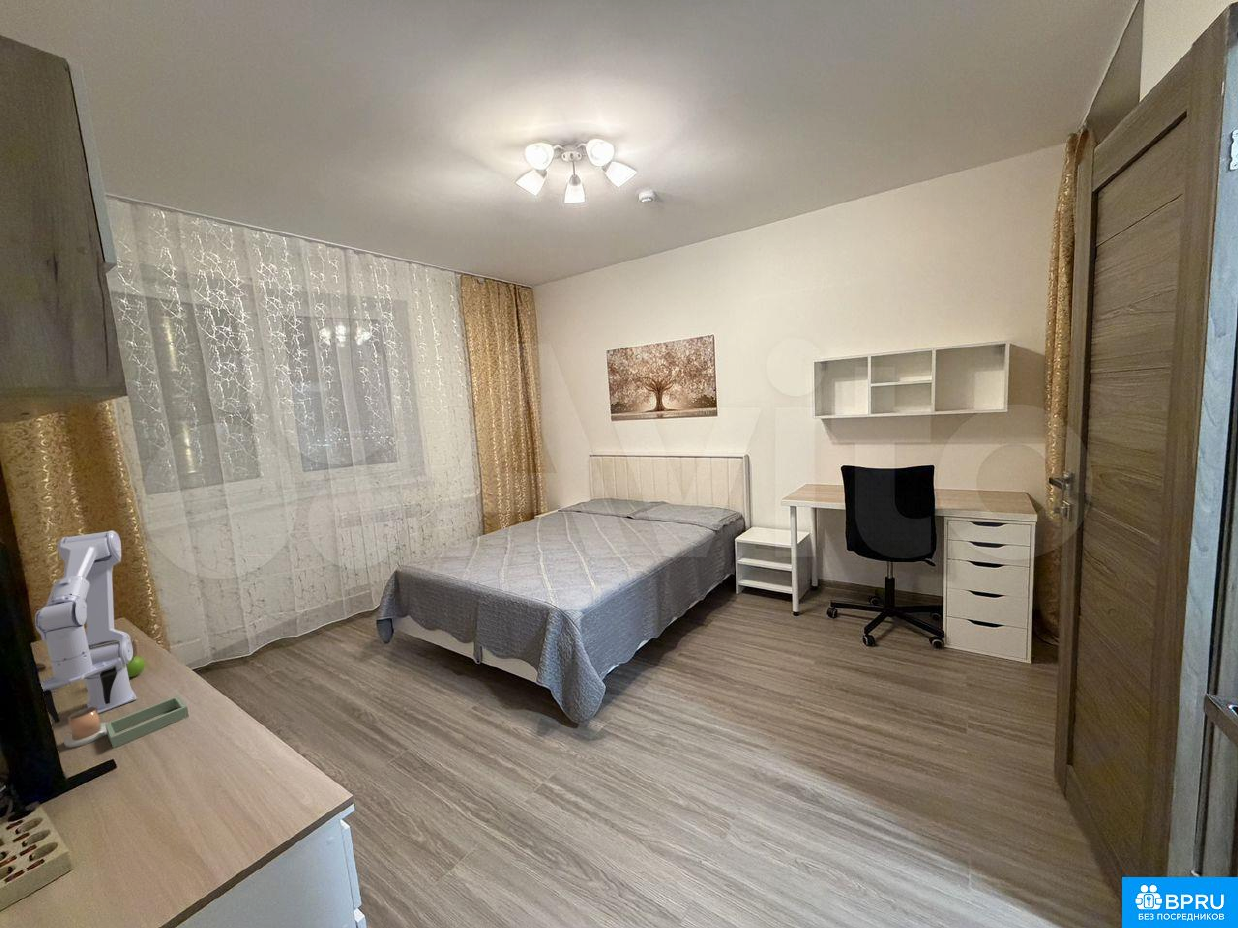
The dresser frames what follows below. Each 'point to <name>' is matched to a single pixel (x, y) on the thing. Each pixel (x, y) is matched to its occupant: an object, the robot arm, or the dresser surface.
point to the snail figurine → (135, 661)
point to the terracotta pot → (84, 723)
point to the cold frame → (149, 725)
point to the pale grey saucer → (76, 743)
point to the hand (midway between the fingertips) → (82, 711)
